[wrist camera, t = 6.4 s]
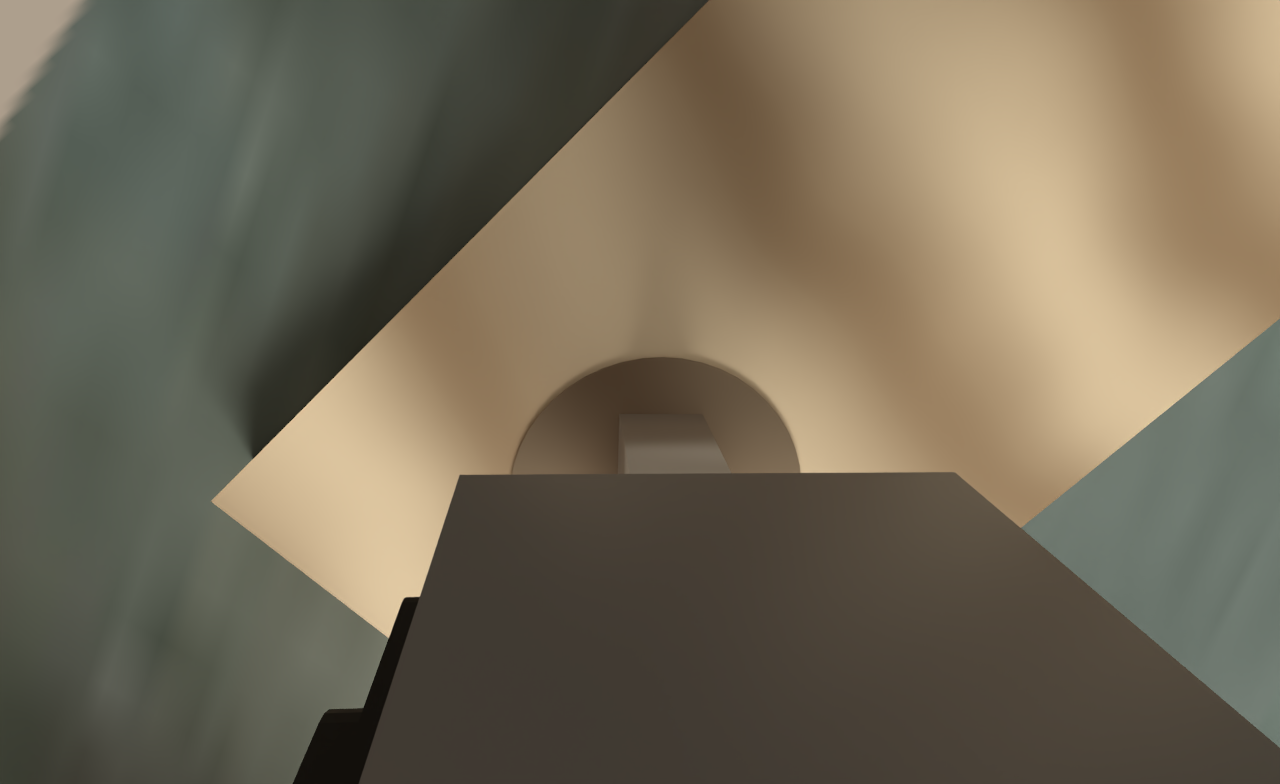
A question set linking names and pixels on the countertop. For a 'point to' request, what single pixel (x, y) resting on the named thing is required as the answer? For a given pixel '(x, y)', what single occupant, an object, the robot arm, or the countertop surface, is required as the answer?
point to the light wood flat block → (822, 271)
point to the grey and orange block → (779, 644)
